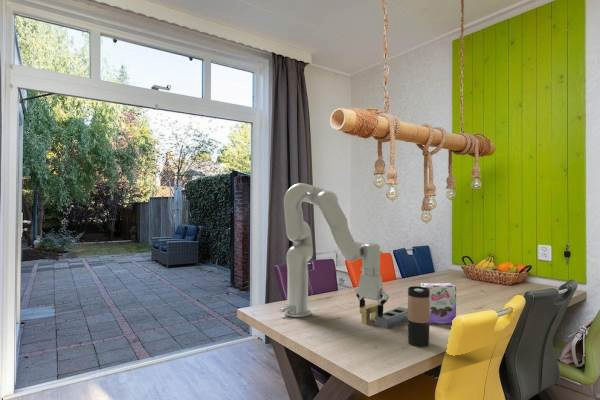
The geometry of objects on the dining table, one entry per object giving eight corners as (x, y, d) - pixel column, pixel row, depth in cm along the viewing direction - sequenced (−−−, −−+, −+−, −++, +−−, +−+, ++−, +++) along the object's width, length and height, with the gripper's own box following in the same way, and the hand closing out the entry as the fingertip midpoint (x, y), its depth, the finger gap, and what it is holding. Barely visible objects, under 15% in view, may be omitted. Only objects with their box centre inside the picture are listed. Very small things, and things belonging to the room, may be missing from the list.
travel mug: (418, 338, 138) (418, 285, 138) (434, 345, 131) (434, 289, 131) (403, 341, 134) (403, 287, 134) (418, 349, 127) (419, 291, 128)
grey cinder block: (387, 329, 148) (387, 319, 148) (374, 325, 152) (374, 316, 152) (411, 318, 162) (411, 309, 162) (399, 315, 166) (399, 306, 166)
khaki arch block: (366, 324, 153) (366, 309, 153) (359, 322, 155) (359, 307, 156) (380, 318, 161) (380, 304, 161) (374, 317, 163) (374, 302, 163)
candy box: (424, 324, 154) (425, 285, 154) (419, 320, 160) (419, 282, 160) (456, 324, 155) (456, 285, 155) (449, 319, 161) (450, 282, 161)
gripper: (349, 270, 162) (349, 309, 162) (383, 275, 149) (383, 318, 149) (359, 268, 167) (360, 306, 167) (393, 273, 155) (393, 314, 154)
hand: (371, 311), depth 158 cm, fingers open, 8 cm apart
